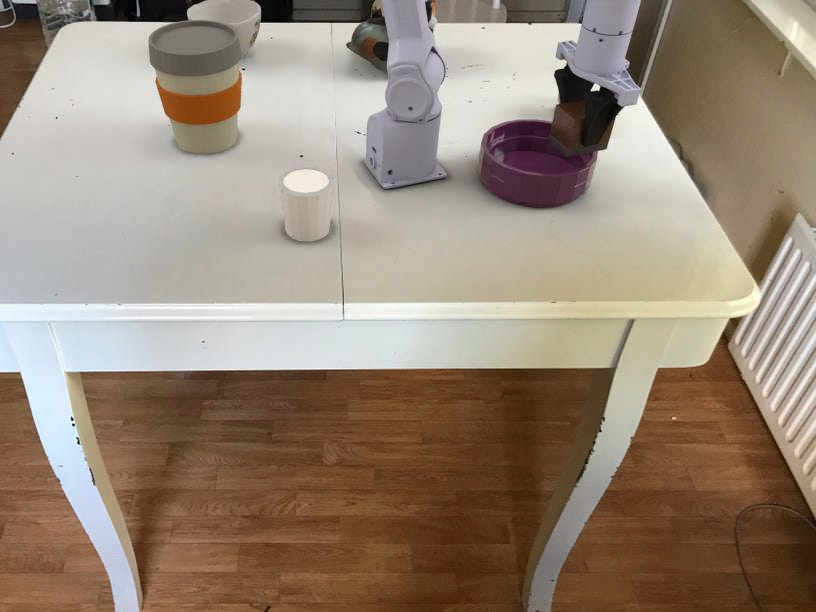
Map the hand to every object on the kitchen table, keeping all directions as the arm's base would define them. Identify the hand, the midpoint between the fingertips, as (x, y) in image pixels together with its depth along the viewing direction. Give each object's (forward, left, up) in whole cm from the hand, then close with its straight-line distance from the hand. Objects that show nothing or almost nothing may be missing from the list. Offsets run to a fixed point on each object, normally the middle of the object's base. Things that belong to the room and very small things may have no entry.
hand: (579, 135), depth 96 cm
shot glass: (-35, +3, -9) cm, 37 cm away
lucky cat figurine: (-6, +46, -9) cm, 48 cm away
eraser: (0, 0, -1) cm, 1 cm away
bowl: (-2, +4, -8) cm, 10 cm away
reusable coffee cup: (-43, +30, -9) cm, 53 cm away
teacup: (-32, +57, -9) cm, 67 cm away
